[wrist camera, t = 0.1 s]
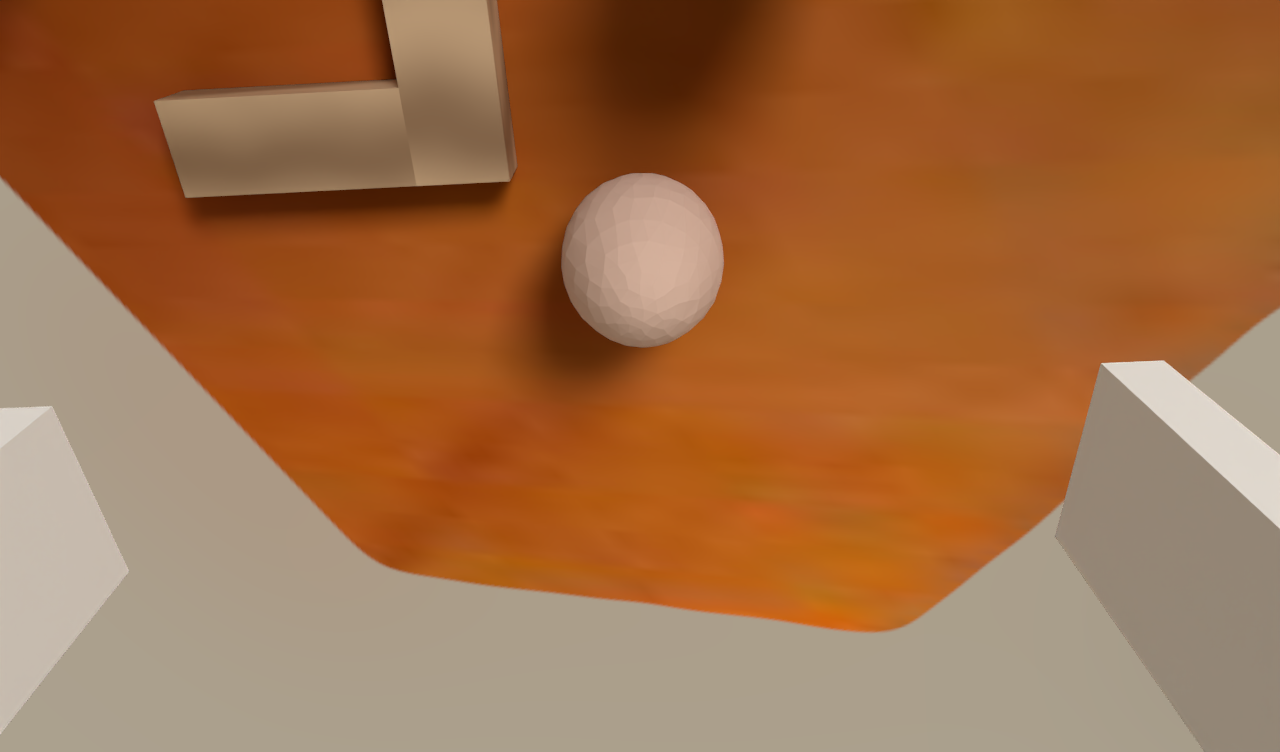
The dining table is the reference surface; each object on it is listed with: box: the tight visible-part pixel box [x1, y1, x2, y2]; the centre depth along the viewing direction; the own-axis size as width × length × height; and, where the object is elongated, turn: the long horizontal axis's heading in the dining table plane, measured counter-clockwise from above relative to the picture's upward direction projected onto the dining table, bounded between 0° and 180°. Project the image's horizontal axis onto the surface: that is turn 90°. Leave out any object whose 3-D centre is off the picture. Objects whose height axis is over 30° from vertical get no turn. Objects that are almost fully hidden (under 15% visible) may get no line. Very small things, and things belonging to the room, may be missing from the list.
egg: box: [561, 173, 724, 348], centre depth 34 cm, size 7×7×10 cm
